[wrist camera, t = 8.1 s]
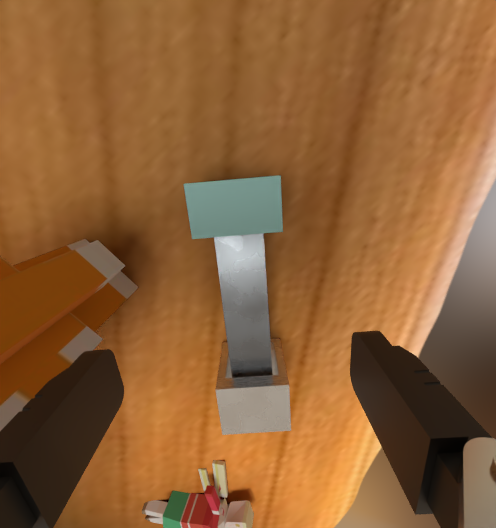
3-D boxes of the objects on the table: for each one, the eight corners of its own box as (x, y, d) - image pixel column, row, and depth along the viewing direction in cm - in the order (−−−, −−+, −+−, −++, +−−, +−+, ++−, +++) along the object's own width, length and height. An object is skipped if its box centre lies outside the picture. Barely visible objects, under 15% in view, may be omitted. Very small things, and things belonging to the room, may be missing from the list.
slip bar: (270, 359, 26) (273, 386, 23) (235, 361, 27) (233, 388, 23) (259, 199, 21) (261, 203, 18) (216, 203, 21) (210, 208, 18)
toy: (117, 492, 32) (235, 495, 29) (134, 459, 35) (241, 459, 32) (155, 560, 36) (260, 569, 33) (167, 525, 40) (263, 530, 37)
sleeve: (281, 376, 29) (291, 430, 22) (227, 380, 29) (222, 434, 23) (279, 338, 27) (289, 384, 21) (222, 342, 27) (215, 389, 21)
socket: (273, 217, 23) (282, 231, 17) (206, 222, 23) (192, 239, 17) (271, 175, 22) (280, 175, 16) (201, 182, 22) (183, 183, 16)
